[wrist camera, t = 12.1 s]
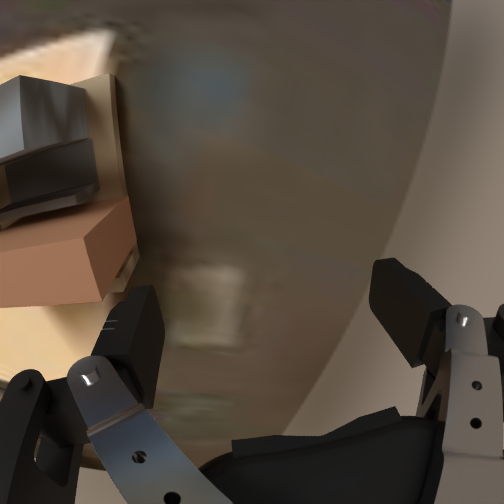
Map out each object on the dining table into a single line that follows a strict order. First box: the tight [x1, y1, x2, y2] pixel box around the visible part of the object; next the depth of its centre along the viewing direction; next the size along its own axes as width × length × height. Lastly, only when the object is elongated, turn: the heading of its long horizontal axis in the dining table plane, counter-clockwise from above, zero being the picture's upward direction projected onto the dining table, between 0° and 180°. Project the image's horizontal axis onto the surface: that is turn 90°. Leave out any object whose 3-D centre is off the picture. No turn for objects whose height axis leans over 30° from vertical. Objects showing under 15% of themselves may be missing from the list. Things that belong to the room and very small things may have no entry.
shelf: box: [0, 73, 140, 293], centre depth 18 cm, size 17×16×12 cm
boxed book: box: [0, 196, 137, 308], centre depth 19 cm, size 4×12×10 cm, turn 94°
